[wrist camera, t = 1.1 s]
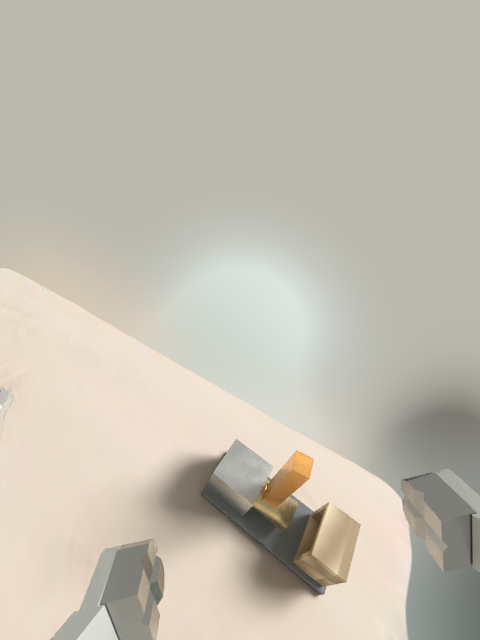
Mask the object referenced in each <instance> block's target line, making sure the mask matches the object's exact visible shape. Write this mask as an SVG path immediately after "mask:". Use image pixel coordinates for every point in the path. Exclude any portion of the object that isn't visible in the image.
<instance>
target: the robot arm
mask: <svg viewBox="0 0 480 640" xmlns="http://www.w3.org/2000/svg"><path fill="white" fill-rule="evenodd" d="M12 399H13V396H12V394H11V393H10V392H9V391H8V390H6V389H4V388H3V387H1V386H0V435H1V431H2V422H3V416H4V414H5V412H6V411H7V409H8V407H9V406H10V404H11V402H12ZM401 490H402V491H403V493H404V494H405V497H404V499H403V500H402V504H403V511H404V513H405V516H406V519H407V521H408V523H409V525H410V526H411V528H412V529H413V531H414V532H415V534H416V535H417V536H419V537H421V538H422V539H424V540H426V546H427V550H428V552H429V553H430V554H431V556H432V557H433V558H434V559H435V561H436V562H437V564H438V565H439V566H440V568H441V569H442V571H443V572H446V571H451V570H456V569H460V568H465V567H470V566H473V568H474V569H475V570H477V571H478V572H480V496H479V495H478V494H476V493H475V492H474V491H473V490H472V489H471V488H470V487H469V486H468V485H466V484H465V483H464V482H463V481H462V480H461V479H460V478H459V477H458V476H456V475H455V474H454V473H453V472H452V471H451V470H449V469H443V470H439V471H435V472H431V473H426V474H423V475H418V476H414V477H410V478H407V479H403V480H402V481H401ZM156 553H157V545H156V542H155V540H154V539H150V540H145V541H140V542H136V543H131V544H126V545H121V546H118V547H113V548H108V549H105V550H104V551H103V553H102V554H101V556H100V558H99V561H98V563H97V566H96V569H95V571H94V574H93V576H92V579H91V582H90V584H89V587H88V589H87V592H86V595H85V597H84V600H83V602H82V605H81V608H80V610H79V611H75V612H74V613H73V614H72V615H71V616H70V617H69V618H68V620H67V621H66V622H65V623H64V624H63V626H62V627H61V628H60V629H59V630H58V631H57V633H56V634H55V635H54V636H53V637H52V638H51V640H156V637H157V630H158V624H159V618H160V614H159V611H158V608H157V605H158V604H159V602H160V601H161V599H162V597H163V591H164V568H163V564H162V560H161V558H159V557H158V556H156Z"/></svg>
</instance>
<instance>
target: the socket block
mask: <svg viewBox="0 0 480 640" xmlns="http://www.w3.org/2000/svg"><path fill="white" fill-rule="evenodd" d="M359 529H360V524H359V523H358V522H356V521H355V520H354V519H352V518H351V517H349V516H348V515H347V514H345V513H344V512H343V511H341V510H340V509H339V508H337V507H336V506H335V505H333V504H332V503H331V502H329V503H327V504H326V505H324V506H322V507H321V508H319V509H318V510H316V511H315V512H313V513H312V514H311V515H310V518H309V520H308V523H307V526H306V528H305V531H304V533H303V536H302V539H301V541H300V544H299V547H298V549H297V552H296V555H295V557H294V560H293V563H295V564H296V565H297V566H298V567H299V568H301V569H302V570H303V571H304V572H305V573H307V574H308V575H309V576H310V577H312V578H313V579H314V580H315V581H316V582H318V583H319V584H320V585H321V586H322V587H323V586H328V585H334V584H339V583H344V582H346V581H347V577H348V573H349V569H350V565H351V561H352V557H353V553H354V549H355V545H356V541H357V537H358V533H359Z"/></svg>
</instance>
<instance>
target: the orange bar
mask: <svg viewBox="0 0 480 640" xmlns="http://www.w3.org/2000/svg"><path fill="white" fill-rule="evenodd" d="M313 460H314V459H313V458H311V457H309V456H307V455H305V454H303V453H301V452H299V451H296V452H295V453H294V454H293V455H292V457H291V458H290V459H289V460H288V461H287V462H286V464H285V465H284V466H283V467H282V468H281V469H280V470H279V472H278V473H277V474H276V475H275V476H274V477H273V478H272V480H271V481H269V480H266V482H265V484H264V486H263V488H262V489H261V491H260V493H259V495H258V497H257V499H256V501H255V503H254V504H253V506H252V507H253V508H254V509H256V510H257V511H258V512H259V513H261V514H262V515H263V516H264V517H266V518H267V519H268V520H269V521H271V522H272V523H273V524H274V525H276V526H277V527H278V528H279V529H280V530H282V531H285V530H286V529H287V527H288V526H289V524H290V522H291V521H292V519H293V517H294V514H295V512H296V509H297V506H298V503H297V502H296V501H295V500H293V499H292V498H291V497H289V496H290V495H291V494H293V493H294V492H295V491H296V490H297V489H298V488H299V487H300V486H302V485H303V484H304V483H305V482H306V481H307V480H308V479H310V474H311V469H312V464H313Z"/></svg>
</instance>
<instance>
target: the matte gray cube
mask: <svg viewBox="0 0 480 640" xmlns="http://www.w3.org/2000/svg"><path fill="white" fill-rule="evenodd" d="M272 469H273V466H272V465H270V464H269V463H268V462H266V461H265V460H264V459H262V458H261V457H260V456H258V455H257V454H256V453H254V452H253V451H252V450H250V449H249V448H248V447H246V446H245V445H244V444H242V443H241V442H240V441H238V440H237V439H236V440H235V441H234V443H233V444H232V446H231V447H230V449H229V450H228V452H227V453H226V455H225V456H224V458H223V459H222V460H221V462H220V463H219V465H218V466H217V468H216V469H215V471H214V472H213V474H212V476H211V479H210V481H209V483H208V486H207V487H208V488H209V489H210V490H212V491H213V492H214V493H215V494H217V495H218V496H219V497H220V498H221V499H223V500H224V501H225V502H226V503H227V504H229V505H230V506H231V507H232V508H234V509H235V510H236V511H237V512H238V513H240V514H241V515H242V516H244V515H245V514H246V512H247V511H248V510H249V509H250V508H251V507H252V506H253V504H254V503H255V501H256V499H257V497H258V495H259V493H260V491H261V489H262V488H263V486H264V484H265V482H266V480H267V478H268V476H269V474H270V472H271V471H272Z"/></svg>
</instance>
